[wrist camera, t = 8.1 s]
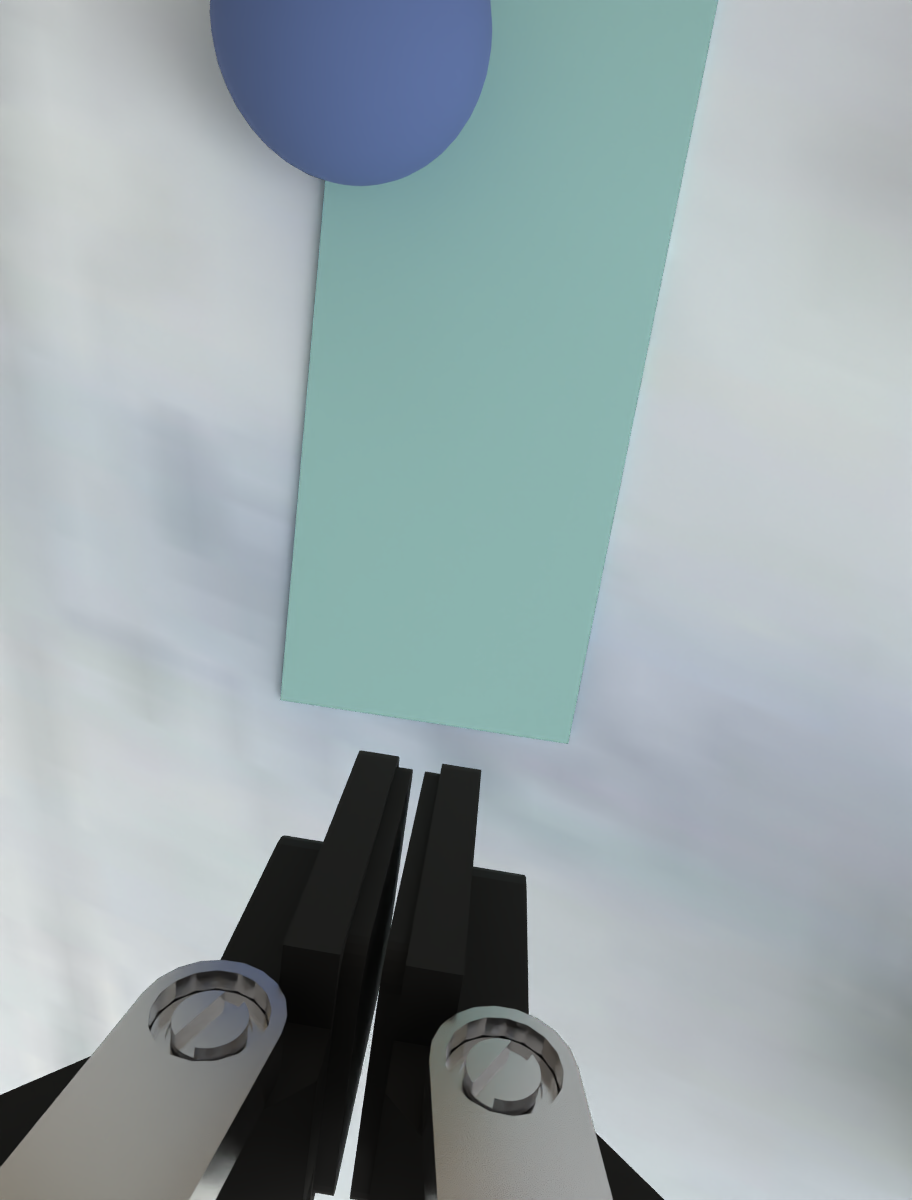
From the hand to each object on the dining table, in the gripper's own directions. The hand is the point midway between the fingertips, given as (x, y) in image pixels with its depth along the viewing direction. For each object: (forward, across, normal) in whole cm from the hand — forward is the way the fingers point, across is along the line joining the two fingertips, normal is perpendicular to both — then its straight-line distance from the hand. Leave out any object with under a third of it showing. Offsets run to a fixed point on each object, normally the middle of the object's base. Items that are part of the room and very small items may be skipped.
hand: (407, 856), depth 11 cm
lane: (+14, +1, -10) cm, 17 cm away
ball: (+11, +4, -13) cm, 17 cm away
